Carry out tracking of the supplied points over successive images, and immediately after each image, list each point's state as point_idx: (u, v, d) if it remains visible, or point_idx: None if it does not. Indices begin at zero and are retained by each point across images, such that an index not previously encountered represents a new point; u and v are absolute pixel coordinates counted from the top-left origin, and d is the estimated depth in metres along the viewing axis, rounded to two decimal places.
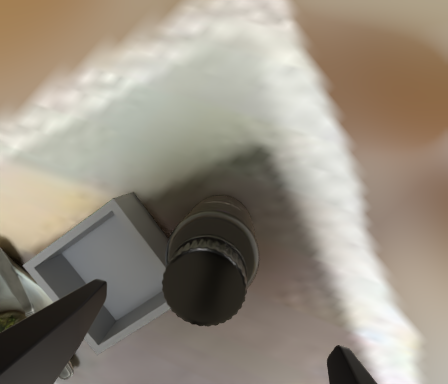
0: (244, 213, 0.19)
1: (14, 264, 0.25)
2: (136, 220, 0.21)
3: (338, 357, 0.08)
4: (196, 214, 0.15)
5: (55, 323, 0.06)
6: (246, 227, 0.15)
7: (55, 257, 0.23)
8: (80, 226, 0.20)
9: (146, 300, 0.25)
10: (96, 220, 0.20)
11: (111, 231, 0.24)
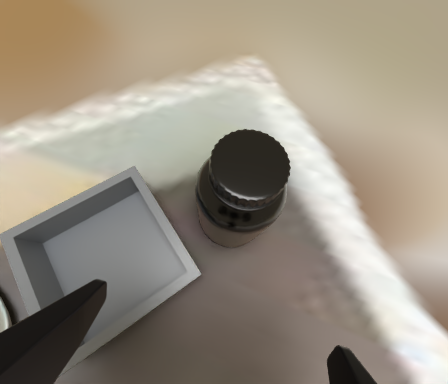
0: None
1: None
2: None
3: (338, 357, 0.08)
4: None
5: (55, 323, 0.06)
6: None
7: (35, 243, 0.20)
8: (91, 190, 0.19)
9: None
10: (111, 185, 0.20)
11: (113, 218, 0.22)
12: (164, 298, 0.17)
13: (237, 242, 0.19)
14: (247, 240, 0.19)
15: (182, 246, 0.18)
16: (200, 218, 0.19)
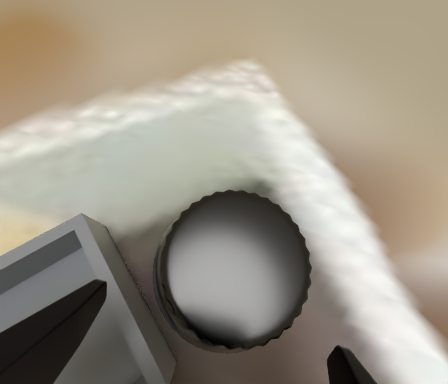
0: None
1: None
2: (104, 250, 0.15)
3: (338, 357, 0.08)
4: None
5: (55, 323, 0.06)
6: None
7: None
8: (14, 253, 0.13)
9: None
10: (44, 244, 0.14)
11: (56, 281, 0.16)
12: None
13: None
14: None
15: (142, 341, 0.12)
16: None
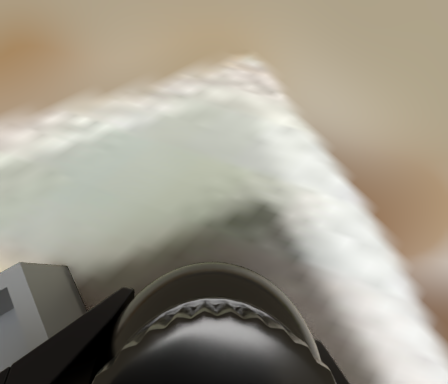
0: None
1: None
2: (51, 311, 0.11)
3: None
4: (182, 267, 0.07)
5: (92, 333, 0.06)
6: None
7: None
8: None
9: None
10: None
11: None
12: None
13: None
14: None
15: None
16: None
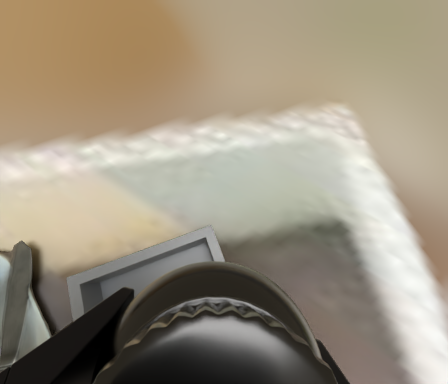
0: None
1: (31, 283, 0.19)
2: None
3: None
4: (183, 266, 0.07)
5: (92, 333, 0.06)
6: (286, 295, 0.07)
7: (95, 284, 0.19)
8: (163, 245, 0.18)
9: None
10: (184, 243, 0.18)
11: (173, 269, 0.20)
12: None
13: None
14: None
15: None
16: None
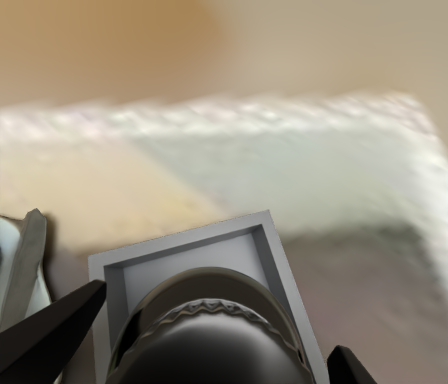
0: None
1: (42, 260, 0.15)
2: None
3: (338, 357, 0.08)
4: (184, 271, 0.09)
5: (55, 323, 0.06)
6: (273, 295, 0.08)
7: (118, 269, 0.15)
8: (209, 229, 0.14)
9: None
10: (235, 228, 0.14)
11: (212, 261, 0.17)
12: None
13: None
14: None
15: (321, 360, 0.12)
16: None
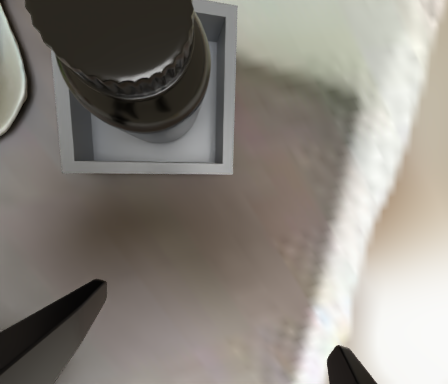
0: None
1: None
2: None
3: (338, 357, 0.08)
4: None
5: (55, 323, 0.06)
6: None
7: None
8: None
9: (153, 160, 0.19)
10: (199, 11, 0.15)
11: None
12: (189, 172, 0.16)
13: (141, 138, 0.15)
14: (154, 140, 0.14)
15: (232, 137, 0.16)
16: None
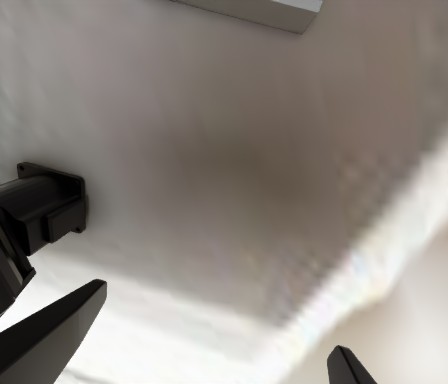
0: None
1: None
2: None
3: (338, 357, 0.08)
4: None
5: (55, 323, 0.06)
6: None
7: None
8: None
9: None
10: None
11: None
12: None
13: None
14: None
15: None
16: None
